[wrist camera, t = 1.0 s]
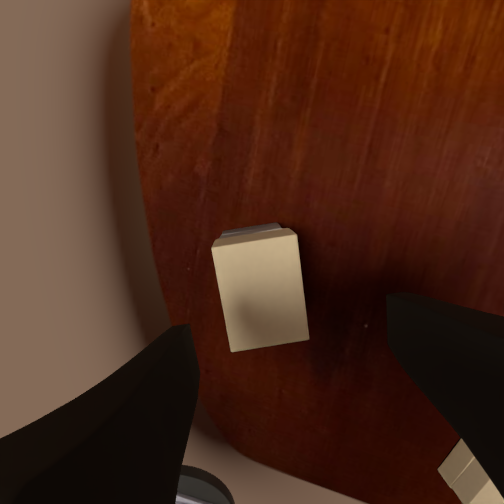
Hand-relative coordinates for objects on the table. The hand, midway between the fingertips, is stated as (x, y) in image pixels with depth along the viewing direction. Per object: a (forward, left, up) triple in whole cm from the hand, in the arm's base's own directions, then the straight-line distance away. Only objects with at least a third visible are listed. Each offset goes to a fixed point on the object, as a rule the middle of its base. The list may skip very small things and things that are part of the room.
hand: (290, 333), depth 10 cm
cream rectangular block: (-1, 0, -7) cm, 7 cm away
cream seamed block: (-8, -25, -10) cm, 28 cm away
